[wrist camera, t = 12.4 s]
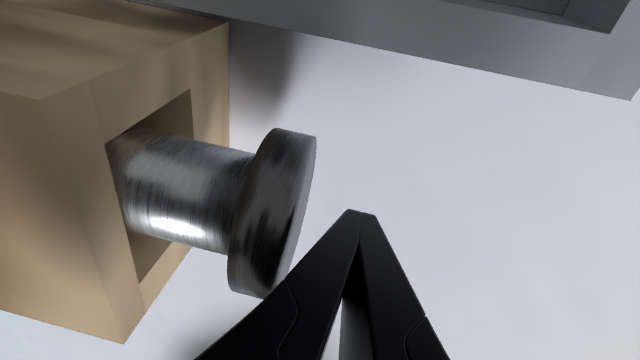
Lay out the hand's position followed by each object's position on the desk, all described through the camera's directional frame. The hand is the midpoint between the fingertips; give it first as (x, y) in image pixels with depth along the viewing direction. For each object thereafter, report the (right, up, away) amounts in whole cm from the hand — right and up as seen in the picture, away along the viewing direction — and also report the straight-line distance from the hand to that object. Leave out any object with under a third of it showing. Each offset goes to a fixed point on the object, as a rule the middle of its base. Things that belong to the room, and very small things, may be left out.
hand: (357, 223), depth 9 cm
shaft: (-7, +3, +2) cm, 8 cm away
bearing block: (-8, +4, +4) cm, 10 cm away
